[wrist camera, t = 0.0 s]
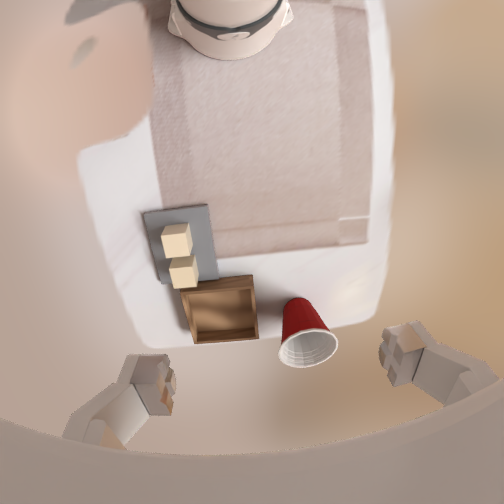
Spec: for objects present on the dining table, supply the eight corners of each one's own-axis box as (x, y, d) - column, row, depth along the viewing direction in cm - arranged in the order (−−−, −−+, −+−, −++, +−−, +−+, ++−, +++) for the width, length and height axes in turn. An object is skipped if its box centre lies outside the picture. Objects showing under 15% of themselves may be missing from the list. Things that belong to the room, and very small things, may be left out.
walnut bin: (182, 281, 54) (179, 292, 51) (252, 274, 54) (253, 285, 51) (195, 332, 61) (194, 344, 57) (257, 326, 61) (259, 338, 58)
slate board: (145, 212, 47) (143, 214, 46) (208, 204, 47) (207, 206, 47) (162, 281, 54) (161, 284, 53) (219, 276, 54) (219, 279, 53)
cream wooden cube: (165, 225, 48) (160, 235, 44) (188, 222, 48) (185, 232, 44) (170, 246, 50) (166, 258, 46) (192, 244, 50) (189, 255, 46)
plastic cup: (269, 329, 61) (276, 373, 51) (272, 288, 56) (281, 331, 46) (318, 327, 62) (332, 368, 51) (326, 286, 57) (344, 327, 46)
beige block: (172, 256, 51) (168, 268, 47) (194, 254, 51) (192, 266, 47) (177, 276, 52) (174, 288, 49) (198, 274, 53) (196, 286, 49)
